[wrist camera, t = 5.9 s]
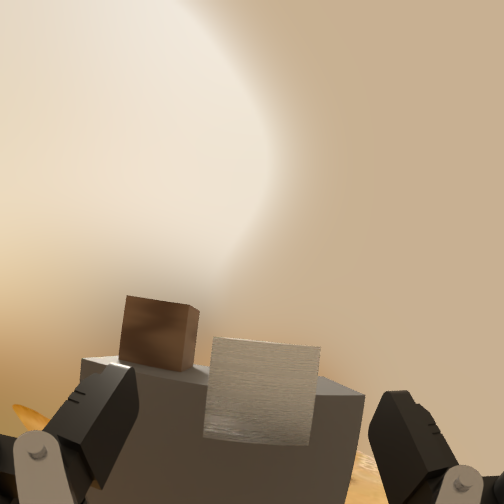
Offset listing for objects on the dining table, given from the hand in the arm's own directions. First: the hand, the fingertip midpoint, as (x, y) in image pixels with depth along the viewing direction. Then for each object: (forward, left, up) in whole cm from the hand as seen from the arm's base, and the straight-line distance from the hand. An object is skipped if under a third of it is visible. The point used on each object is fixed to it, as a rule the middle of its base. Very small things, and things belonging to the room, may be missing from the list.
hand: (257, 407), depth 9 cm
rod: (0, +13, -1) cm, 13 cm away
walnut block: (-8, +15, -1) cm, 17 cm away
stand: (-2, +14, -33) cm, 36 cm away
